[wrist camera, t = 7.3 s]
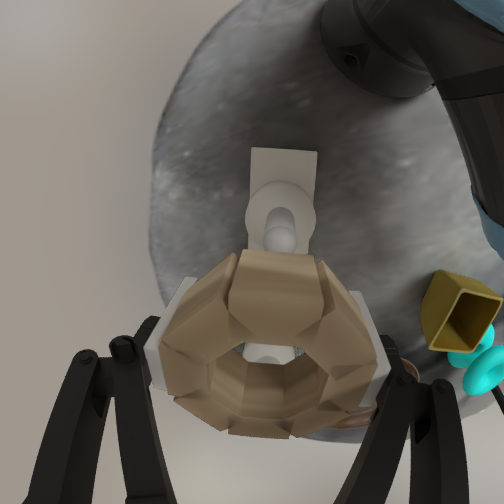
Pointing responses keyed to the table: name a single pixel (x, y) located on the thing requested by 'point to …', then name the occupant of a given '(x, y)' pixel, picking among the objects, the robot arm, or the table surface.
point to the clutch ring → (270, 333)
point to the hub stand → (268, 353)
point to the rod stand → (281, 200)
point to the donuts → (481, 365)
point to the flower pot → (457, 312)
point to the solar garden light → (498, 397)
